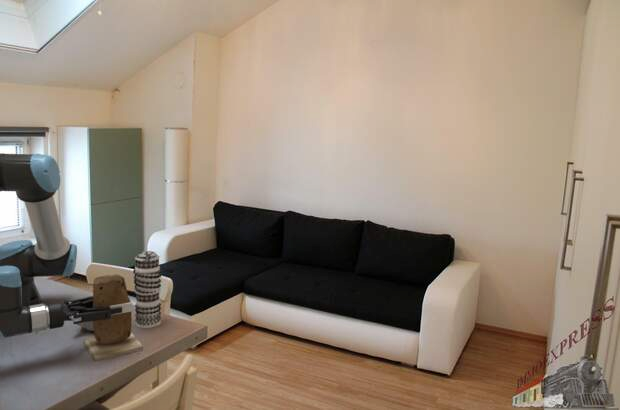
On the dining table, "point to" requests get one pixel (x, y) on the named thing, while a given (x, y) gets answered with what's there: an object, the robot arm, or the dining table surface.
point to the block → (104, 296)
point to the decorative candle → (147, 289)
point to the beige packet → (112, 347)
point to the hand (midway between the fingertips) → (127, 302)
